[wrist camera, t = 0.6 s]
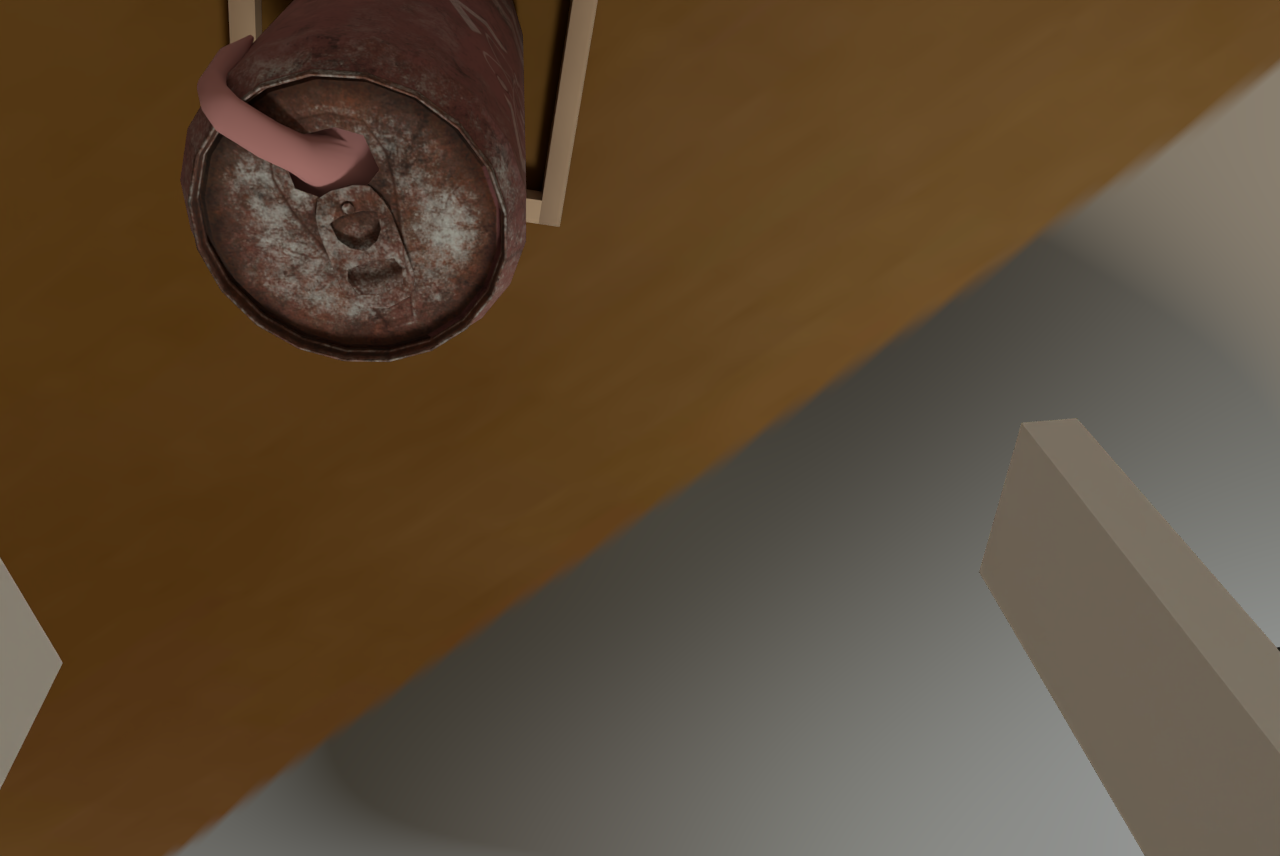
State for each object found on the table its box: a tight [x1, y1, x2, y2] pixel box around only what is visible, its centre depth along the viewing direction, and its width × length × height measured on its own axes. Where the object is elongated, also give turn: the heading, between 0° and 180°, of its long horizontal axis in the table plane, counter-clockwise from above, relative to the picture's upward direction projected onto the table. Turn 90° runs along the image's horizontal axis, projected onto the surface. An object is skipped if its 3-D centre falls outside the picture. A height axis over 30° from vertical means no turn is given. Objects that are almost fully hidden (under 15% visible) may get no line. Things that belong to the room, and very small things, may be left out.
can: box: [180, 0, 526, 362], centre depth 22 cm, size 6×6×14 cm
